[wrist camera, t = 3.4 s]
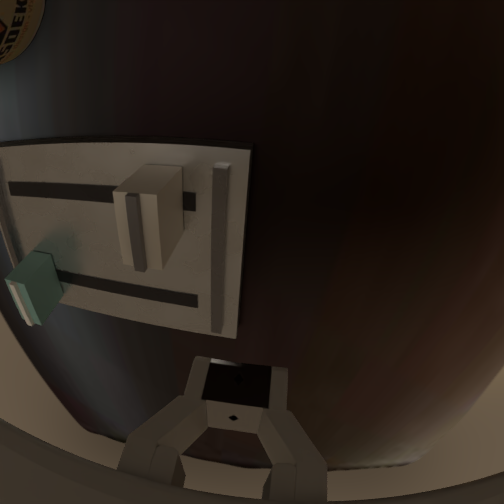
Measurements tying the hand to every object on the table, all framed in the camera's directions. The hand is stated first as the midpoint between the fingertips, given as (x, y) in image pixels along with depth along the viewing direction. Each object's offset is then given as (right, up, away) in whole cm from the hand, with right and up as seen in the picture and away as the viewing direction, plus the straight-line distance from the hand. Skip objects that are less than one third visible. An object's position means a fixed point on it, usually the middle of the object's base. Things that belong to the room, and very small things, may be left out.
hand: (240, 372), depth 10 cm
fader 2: (-5, +7, +9) cm, 12 cm away
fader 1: (-17, +2, +14) cm, 22 cm away
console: (-11, +6, +13) cm, 18 cm away
